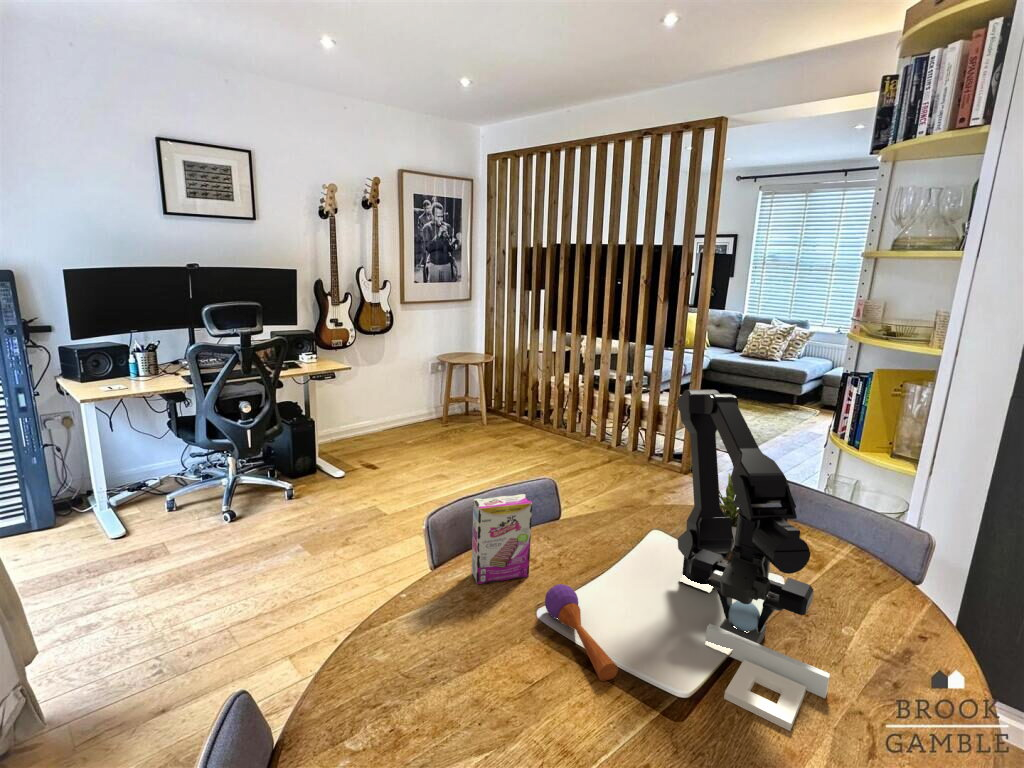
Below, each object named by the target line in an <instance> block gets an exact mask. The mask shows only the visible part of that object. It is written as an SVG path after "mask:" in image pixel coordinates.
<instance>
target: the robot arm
mask: <svg viewBox="0 0 1024 768" xmlns="http://www.w3.org/2000/svg"><path fill="white" fill-rule="evenodd" d="M677 409H678V411H679V416H680V421H681V423H682V425H683V426H684V427H685V429H686V430H687V432H688V433H689V437H690V439H689V440H690V452H691V453H690V455H691V456H690V457H691V471H692V474H691V475H692V487H693V491H692V492H693V493H692V494H693V508H692V510H691V512H690V513H689V516H688V517H687V519H686V530H685V531H684V532H683V533H681V534H680V535H679V536H678V537H677V549H678V550H679V552H680V553H681V555H682V556H683V562H682V563H683V566H682V573H681V574H683V575H685V576H686V577H687V578H688V579H690V580H691V581H694V582H697V583H700V584H709V585H711V586H713V587H714V590H716V593H717V595H718V597H719V600H720V603H721V607H722V610H723V614H724V617H725V619H729V609H730V607H731V605H732V604H733V600H735V601H740V602H741V603H743V604H750V603H753V600H755V601H758V600H761V601H763V602H762V608H761V613H760V619H759V623H758V632H761V630H762V628H763V626H764V625H765V624H766V623H767V621H768V620H769V617H770V616H771V614H772V613H774V611H779V612H782V611H784V610H785V611H788V612H792V613H794V614H796V615H799V616H806V614H807V613H808V610H809V608H810V606H811V604H812V603H813V599H814V592H815V591H814V588H813V587H812V585H811V584H808V583H806V582H803V581H800V580H797V579H794V578H790V577H787V578H786V580H785V582H783V581H780V580H772V579H770V578H769V574H770V570H771V565H773V566H774V567H775V568H776V569H777V570H778V571H779V572H781V573H783V574H788V575H790V574H795V573H798V572H800V571H801V570H803V569H804V568H805V567H806V566H807V564H808V562H809V561H810V559H811V551H810V546H809V545H808V543H807V542H806V541H805V540H804V539H802V538H801V530H800V529H799V528H797V527H796V526H793V525H792V524H790V523H789V522H788V520H797V517H798V516H797V513H796V508H797V506H796V502H795V499H794V498H793V494H792V492H791V489H790V485H789V481H788V479H787V477H786V475H785V474H784V472H783V471H782V469H781V468H780V466H779V465H778V464H777V462H776V461H775V460H773V458H771V457H770V456H768V455H766V454H764V453H763V452H762V450H761V449H760V447H759V445H758V444H757V442H756V440H755V438H754V435H753V433H752V431H751V430H750V428H749V425H748V424H747V422H746V419H745V418H744V416H743V413H742V412H741V410H740V408H739V400H738V398H737V396H736V395H734V394H732V393H720V392H719V391H718V390H716V389H685V390H684V391H683V393H682V394H681V395H679V396H678V399H677ZM717 431H718V435H719V436H720V439H721V441H722V443H723V446H724V447H725V449H726V452H727V454H728V457H729V458H730V461H731V464H732V466H733V468H732V472H731V474H730V475H731V480H732V484H733V490H734V493H735V496H736V498H737V499H736V500H735V499H734V501H733V503H734V504H735V505H736V506H737V507H738V508H737V510H738V509H739V510H738V513H737V514H738V518H737V527H736V535H735V544H734V547H733V549H732V546H733V543H734V538H733V534H732V521H731V519H730V517H726V515H725V514H724V510H723V509H721V508H720V501H721V498H720V496H721V495H720V494H719V491H720V483H719V482H720V481H719V469H718V468H719V467H718V453H717V451H718V450H717V438H716V436H717V435H716V434H717ZM719 495H720V496H719ZM775 504H776V505H778V504H780V506H770V507H769V506H765V505H775ZM722 510H723V511H722ZM731 549H732V551H731ZM730 553H731V555H730ZM724 559H728V561H727V563H726V564H725V563H723V560H724Z"/></svg>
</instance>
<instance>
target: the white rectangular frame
mask: <svg viewBox="0 0 1024 768" xmlns="http://www.w3.org/2000/svg"><path fill="white" fill-rule="evenodd" d="M755 683H756V684H757V685H760V686H762V687H765V688H766V689H769V690H770V691H773V692H775V693H778V694H780V696H779V697H778V700H777V703H776V702H774V701H771V700H769V699H767V698H765V697H763V696H761V695H759V694H756V693H754V692H752V691H751V690H752V688H753V687H754V685H755ZM806 691H807V690H806V686H803V685H801V684H799V683H796V682H794V681H792V680H790V679H787V678H785V677H783V676H780V675H778V674H776V673H774V672H771V671H769V670H767V669H765V668H762V667H760V666H758V665H755V664H753V663H751V662H749V661H746V660H743V662H741V664H740V666H739V667H738V669H737V671H736V672H735V674H734V676H733V678H732V679H731V681H730V683H729V684H728V686H727V688H726V689H725V690H724V696H723V697H724V698H723V699H724V700H726V701H728V702H730V703H732V704H734V705H736V706H738V707H740V708H742V709H744V710H746V711H749V712H751V713H753V714H754V715H757V716H758V717H760V718H763V719H765V720H766V721H769V722H771V723H772V724H774V725H777V726H779V727H781V728H783V729H784V730H787V731H789V732H790V731H791V730H792V728H793V725H794V722H795V721H796V718H797V715H798V713H799V710H800V708H801V705H802V703H803V700H804V698H805V696H806Z"/></svg>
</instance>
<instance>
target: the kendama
mask: <svg viewBox="0 0 1024 768" xmlns="http://www.w3.org/2000/svg"><path fill="white" fill-rule="evenodd" d="M544 597H545V598H544V606H545V609H546V611H547V612H549V613H548V614H549V615H550V616H551V615H552V616H553V617H555V618H558V619H559V620H558V621H559V622H560V623H561V624H562V623H563V624H562V625H564V626H567V627H569V628H572V629H574V630H576V633H577V635H578V637H579V640H580V641H581V643H582V646H583V647H584V649H585V652H586V654H587V656H588V658H589V660H590V662H591V664H592V667H593V669H594V671H595V673H596V674H597V677H598V679H599V680H600V681H601V682H605V681H608V680H613V679H614V678H615V677H616V676H617V674H618V672H619V667H618V665H617V664H616V662H614V660H613V659H612V658H611V657H610V656H609V654H607V653H606V652H605V650H604V649H603V648H602V647H601V646H600V645H599V644H598V642H596V640H595V639H594V638H593V637H592V636H591V634H589V633H588V631H587V630H586V629H585V628H584V627H583V625H582V617H581V616H582V615H581V613H582V612H581V608H580V605H579V598H578V594H577V593H576V591H575V590H574V589H573V588H572V587H571V586H569V585H567V584H563V583H559V584H556V585H554V586H552V587H551V588H550V589H549V590H547V593H546V595H545V596H544ZM552 616H551V617H552ZM553 617H552V618H553ZM555 618H554V619H555Z"/></svg>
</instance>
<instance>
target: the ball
mask: <svg viewBox="0 0 1024 768" xmlns="http://www.w3.org/2000/svg"><path fill="white" fill-rule="evenodd" d="M760 616H761V613H760V611H759V609H758V607H757V606H756V605H755V604H754V603H753V602H751V603H750V604H743V603H741V602H740V601H737V600H735V601H734V602H732V605H731V607H730V609H729V618H730V621H731V623H732V624H733V625H734V626H735V627H736V628H737V629H739V630H741V631H746V632H748V631H752V630H754V629H756V628H757V627H758V623H759V619H760Z"/></svg>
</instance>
